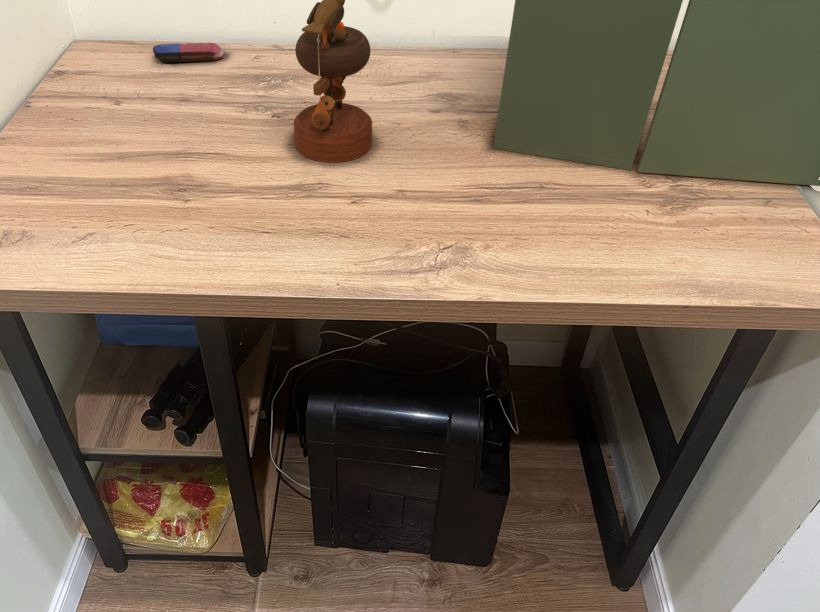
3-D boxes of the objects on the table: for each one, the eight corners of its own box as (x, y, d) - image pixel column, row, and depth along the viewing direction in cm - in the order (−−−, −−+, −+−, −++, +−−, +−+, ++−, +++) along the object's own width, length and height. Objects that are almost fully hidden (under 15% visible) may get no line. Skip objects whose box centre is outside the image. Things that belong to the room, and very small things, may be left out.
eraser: (223, 51, 120) (222, 41, 119) (224, 61, 117) (223, 50, 116) (154, 53, 118) (153, 42, 117) (153, 63, 115) (151, 52, 114)
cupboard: (639, 88, 110) (691, -94, 93) (631, 170, 92) (694, -37, 75) (522, 72, 114) (552, -105, 97) (492, 148, 96) (523, -53, 79)
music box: (373, 170, 92) (361, 6, 78) (289, 173, 93) (263, 12, 79) (379, 116, 103) (369, -36, 89) (303, 119, 104) (283, -30, 90)
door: (873, 214, 85) (1002, -2, 68) (644, 196, 87) (714, -16, 71) (853, 185, 89) (968, -24, 73) (636, 168, 92) (700, -36, 75)
